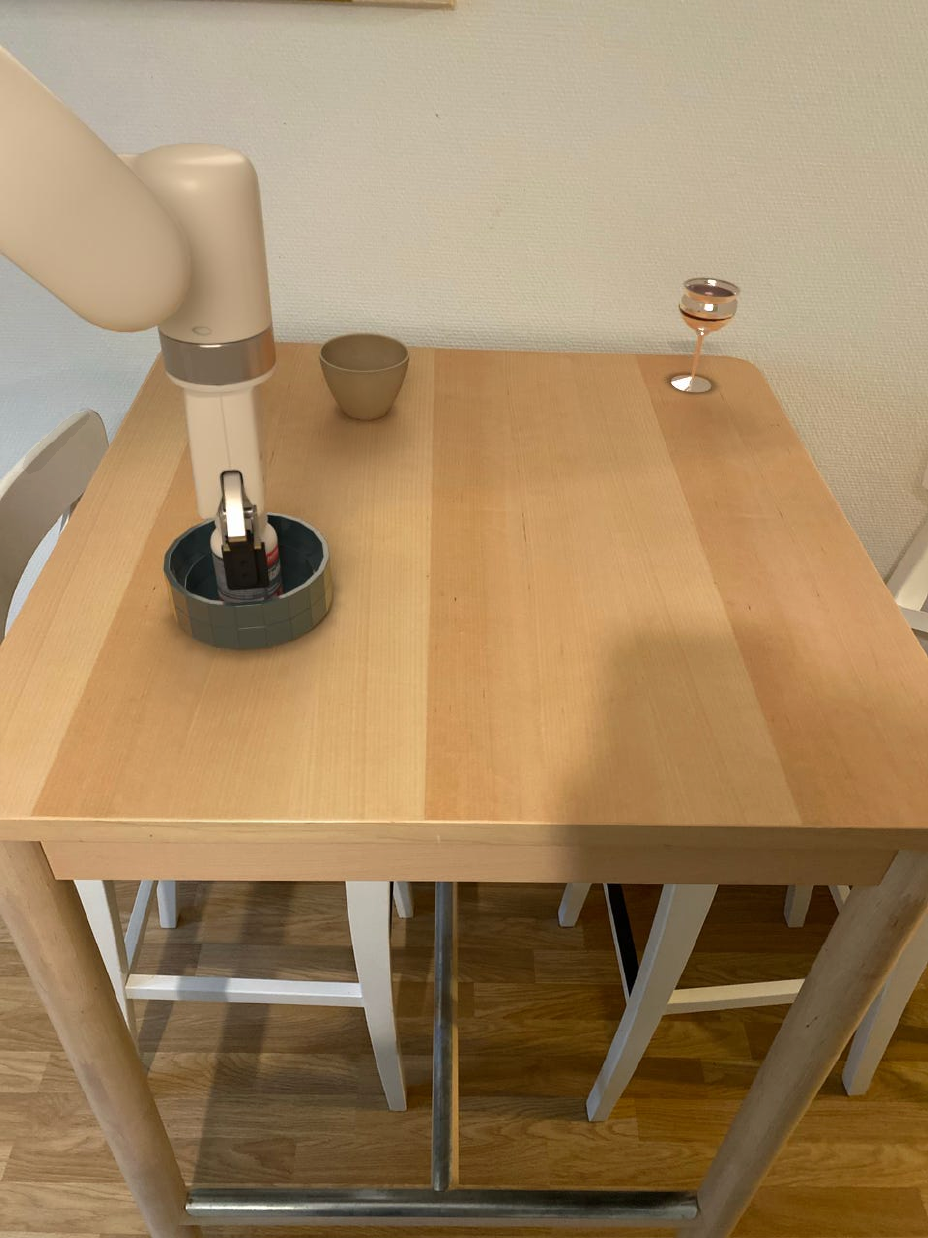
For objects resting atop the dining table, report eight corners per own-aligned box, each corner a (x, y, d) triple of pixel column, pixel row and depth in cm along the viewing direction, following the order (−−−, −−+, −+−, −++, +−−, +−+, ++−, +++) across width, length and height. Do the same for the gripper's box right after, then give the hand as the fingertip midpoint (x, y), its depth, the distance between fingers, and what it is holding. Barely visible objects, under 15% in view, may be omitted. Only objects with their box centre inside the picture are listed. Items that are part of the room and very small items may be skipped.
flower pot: (303, 412, 103) (299, 351, 98) (362, 383, 109) (360, 325, 105) (369, 440, 99) (367, 378, 94) (427, 408, 105) (428, 349, 100)
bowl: (169, 662, 70) (158, 612, 67) (178, 564, 80) (168, 516, 77) (337, 647, 72) (334, 598, 69) (326, 553, 82) (323, 506, 79)
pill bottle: (281, 618, 74) (270, 527, 68) (215, 619, 73) (200, 528, 68) (286, 579, 78) (276, 490, 72) (224, 579, 77) (210, 490, 72)
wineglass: (726, 394, 111) (750, 297, 103) (673, 396, 110) (693, 298, 102) (707, 371, 116) (728, 276, 108) (656, 372, 115) (674, 277, 108)
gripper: (169, 303, 68) (204, 507, 79) (153, 409, 55) (197, 635, 66) (271, 300, 69) (290, 502, 80) (279, 403, 56) (300, 626, 68)
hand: (248, 560), depth 73 cm, fingers open, 5 cm apart
